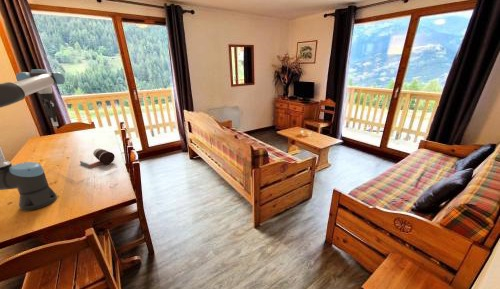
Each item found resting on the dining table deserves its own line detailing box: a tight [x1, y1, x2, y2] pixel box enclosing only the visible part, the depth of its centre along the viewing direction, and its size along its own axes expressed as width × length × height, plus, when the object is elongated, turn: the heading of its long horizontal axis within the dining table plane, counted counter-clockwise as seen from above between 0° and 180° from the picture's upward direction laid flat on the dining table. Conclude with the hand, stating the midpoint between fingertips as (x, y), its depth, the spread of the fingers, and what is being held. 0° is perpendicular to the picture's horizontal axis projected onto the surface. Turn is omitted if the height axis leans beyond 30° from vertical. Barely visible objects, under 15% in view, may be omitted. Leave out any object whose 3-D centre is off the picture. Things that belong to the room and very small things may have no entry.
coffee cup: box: [93, 148, 116, 166], centre depth 159 cm, size 10×10×15 cm
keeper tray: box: [79, 160, 103, 169], centre depth 162 cm, size 16×14×2 cm
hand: (55, 126), depth 152 cm, fingers closed
